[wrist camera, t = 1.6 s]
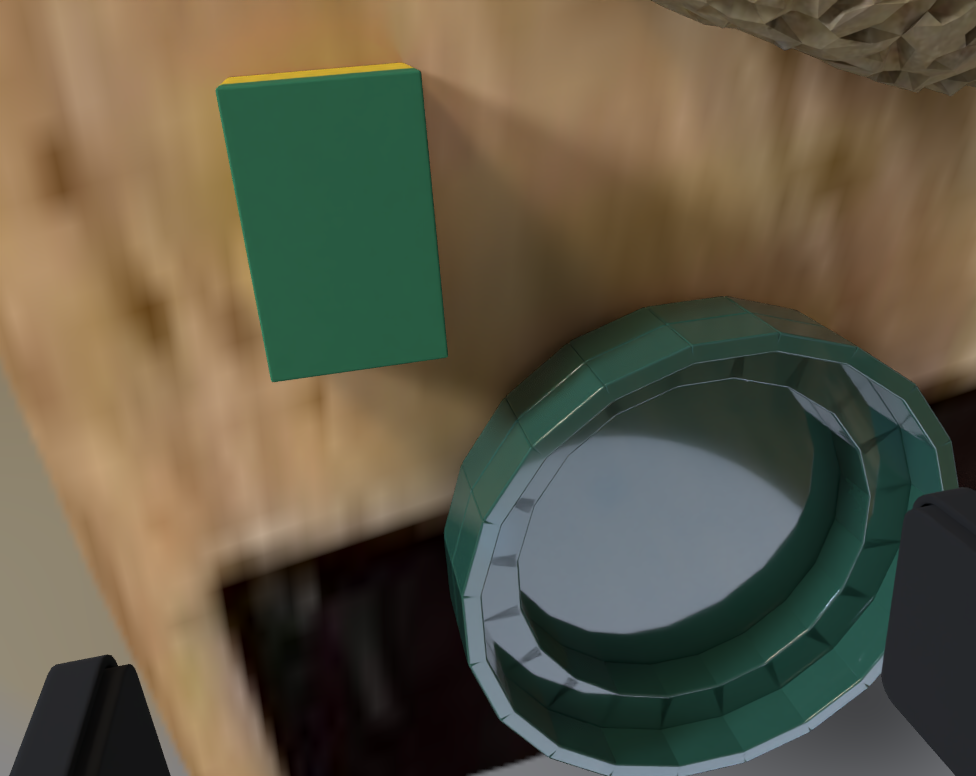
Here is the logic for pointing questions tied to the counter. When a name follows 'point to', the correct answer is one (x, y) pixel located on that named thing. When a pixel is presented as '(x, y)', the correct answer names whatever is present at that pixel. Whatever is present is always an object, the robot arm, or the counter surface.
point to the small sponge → (337, 216)
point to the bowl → (687, 536)
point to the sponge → (861, 35)
